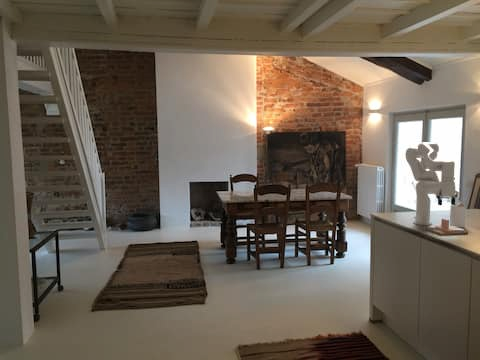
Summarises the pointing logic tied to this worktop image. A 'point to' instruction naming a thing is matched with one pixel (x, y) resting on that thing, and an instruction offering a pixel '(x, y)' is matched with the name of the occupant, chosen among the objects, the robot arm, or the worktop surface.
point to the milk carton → (457, 214)
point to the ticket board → (440, 232)
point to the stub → (445, 226)
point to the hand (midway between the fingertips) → (446, 204)
